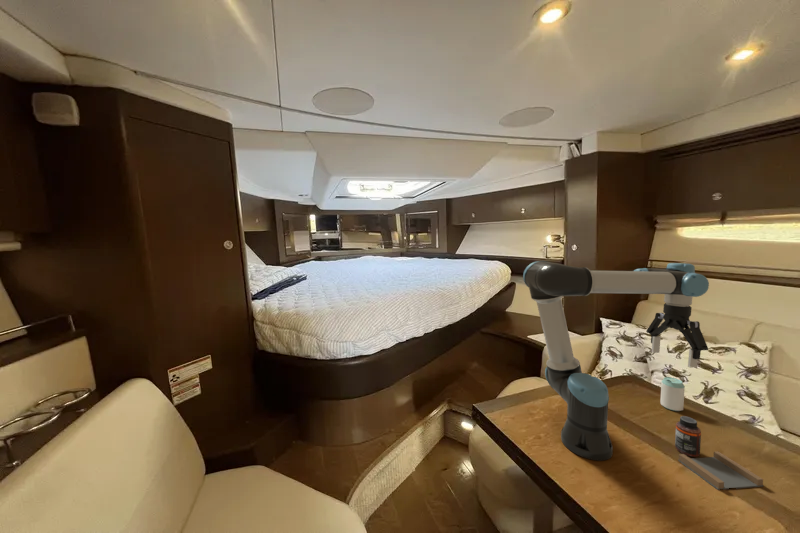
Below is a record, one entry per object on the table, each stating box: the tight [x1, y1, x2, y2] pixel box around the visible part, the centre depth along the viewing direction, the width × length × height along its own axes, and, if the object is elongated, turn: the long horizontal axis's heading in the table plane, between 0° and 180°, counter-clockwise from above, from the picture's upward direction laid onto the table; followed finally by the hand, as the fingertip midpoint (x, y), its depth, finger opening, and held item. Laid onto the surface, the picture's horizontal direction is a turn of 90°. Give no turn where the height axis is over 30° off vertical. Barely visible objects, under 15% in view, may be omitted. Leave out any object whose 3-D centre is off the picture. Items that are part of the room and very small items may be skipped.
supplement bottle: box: [674, 415, 702, 458], centre depth 96 cm, size 6×6×11 cm
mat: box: [677, 451, 764, 491], centre depth 87 cm, size 14×11×2 cm
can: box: [659, 376, 686, 412], centre depth 121 cm, size 7×7×12 cm
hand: (672, 359), depth 109 cm, fingers open, 13 cm apart
